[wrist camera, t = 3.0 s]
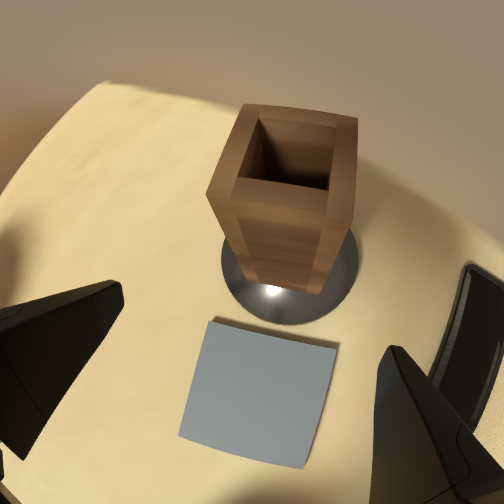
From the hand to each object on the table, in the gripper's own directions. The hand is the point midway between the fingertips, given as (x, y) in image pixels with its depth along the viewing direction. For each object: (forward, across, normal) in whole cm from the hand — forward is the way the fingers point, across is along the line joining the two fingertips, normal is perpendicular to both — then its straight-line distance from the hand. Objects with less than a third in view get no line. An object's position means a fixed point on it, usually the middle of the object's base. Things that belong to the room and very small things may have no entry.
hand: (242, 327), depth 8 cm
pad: (+6, 0, +12) cm, 14 cm away
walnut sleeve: (+14, 0, +4) cm, 14 cm away
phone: (+11, -18, +8) cm, 23 cm away
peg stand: (+15, 0, +4) cm, 15 cm away
